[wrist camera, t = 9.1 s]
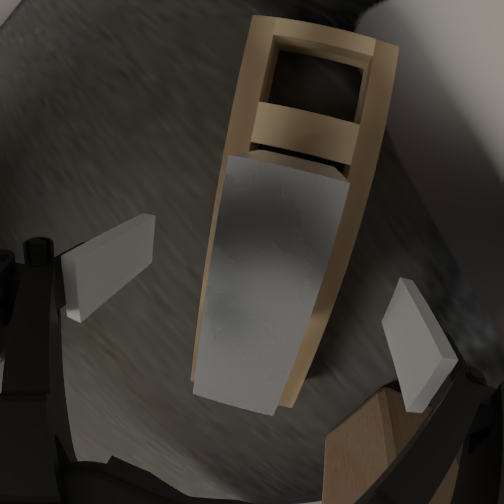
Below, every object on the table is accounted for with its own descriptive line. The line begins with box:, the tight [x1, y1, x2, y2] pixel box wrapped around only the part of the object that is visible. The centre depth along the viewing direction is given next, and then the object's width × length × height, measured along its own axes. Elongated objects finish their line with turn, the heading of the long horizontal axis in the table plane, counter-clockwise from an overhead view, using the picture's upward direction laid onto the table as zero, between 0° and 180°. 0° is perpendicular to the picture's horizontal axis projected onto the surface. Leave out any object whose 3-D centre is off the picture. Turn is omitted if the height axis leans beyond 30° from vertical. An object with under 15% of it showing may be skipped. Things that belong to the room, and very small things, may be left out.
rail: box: [191, 15, 399, 408], centre depth 21 cm, size 9×28×4 cm, turn 169°
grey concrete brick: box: [193, 150, 350, 416], centre depth 17 cm, size 4×11×12 cm, turn 169°
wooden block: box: [322, 387, 459, 504], centre depth 19 cm, size 10×10×20 cm
